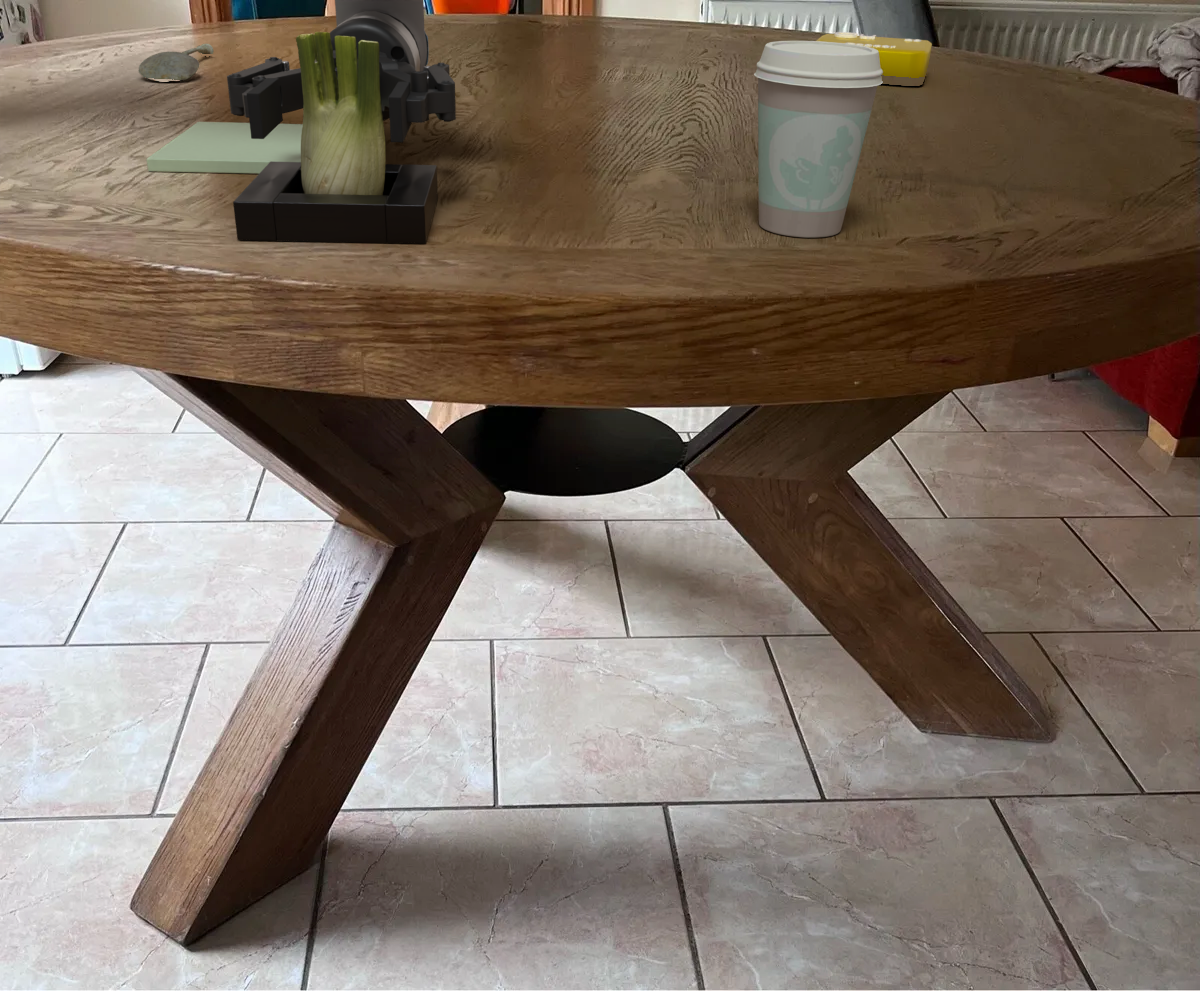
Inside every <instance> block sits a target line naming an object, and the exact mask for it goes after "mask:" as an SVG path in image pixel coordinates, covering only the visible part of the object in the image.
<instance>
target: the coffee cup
mask: <svg viewBox="0 0 1200 991" xmlns="http://www.w3.org/2000/svg"><path fill="white" fill-rule="evenodd" d="M882 74H883V71H882V69H881V68H880V60H879V51H878V50H876V49H874V48H870V47H866V46H860V45H854V44H846V43H835V42H822V41H816V40H778V41H771V42H768V43H766V44H764V48H763V51H762V53H761V57H760V59H759V60H758V61H757V63H756V70H755V72H754V74H753V75H754V77H755V78H757V148H758V150H757V155H758V156H757V159H758V160H757V164H758V166H757V168H758V170H757V172H758V174H757V175H758V177H757V178H758V225H759V227H761V228H762V229H763V230H765V231H767V232H769V233H772V234H775V235H780V236H785V237H793V238H802V239H803V238H805V239H806V238H807V239H818V238H826V237H828V238H829V237H832V236H835V235H837V234H839V233H841V231H842V228H843V223H844V219H845V217H846V216H845V215H846V212H847V207H848V204H849V202H850V201H849V200H850V196H851V193H852V188H853V185H854V181H855V177H856V173H857V169H858V164H859V161H860V157H861V154H862V153H861V152H862V149H863V145H864V141H865V137H866V133H867V129H868V125H869V121H870V117H871V114H872V110H873V105H874V101H875V98H876V92H877V89H878V86H882V85H881V84H882V83H883V81H882V76H881V75H882Z"/></svg>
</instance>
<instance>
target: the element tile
mask: <svg viewBox="0 0 1200 991" xmlns="http://www.w3.org/2000/svg"><path fill="white" fill-rule="evenodd" d="M815 41H822V42H835V43H846V44H854V45H860V46H866V47H870V48H874V49H876V50H878V51H879V60H880V68H881V69H882V71H883V74H882V75H884V76H896V77H909V78H910V77H911V78H919V77H925V75H926V72H927V68H928V69H929V66H930V59H931V53H932V48H933V43H932V42H931V41H929V40H927V39H918V38H917V39H916V38H915V39H913V38H902V37H901V38H899V37H882V36H877V34H873V35H865V34H864V33H861V34H858V33H857V32H849V31H836V32H834V33H827V34H826V33H825V34H823V35H821V36H820V37H818V38H817V39H816V40H815ZM928 65H929V66H928ZM927 73H928V72H927ZM926 76H927V75H926Z"/></svg>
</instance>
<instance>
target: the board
mask: <svg viewBox="0 0 1200 991" xmlns="http://www.w3.org/2000/svg"><path fill="white" fill-rule="evenodd" d="M302 127H303V123H280V124H279V125H278V126H277V127H275V128H274V129H273V130H272V131H271V132H270V133H269V134H268V135H267V136H266V137H265V138H264V139H251V131H250V122H229V121H228V122H226V121H225V122H223V121H196V122H195V123H194V124H193V125H191V126H190V127H189V128H187V129H186V130H184V131H183V132H182V133H180V134H179V135H178V136H176V137H175V138H173V139H172V140H171V141H169V142H167V144H165V145H163V146H162V147H160V148H159V149H158V150H157V151H155V152H154V153H152V154H151V155H150V156H148V157H147V158H146V159H145V160H146V168H147V171H148V172H158V173H159V172H160V173H199V174H200V173H203V174H205V173H206V174H207V173H208V174H209V173H210V174H213V173H214V174H248V175H249V174H251V175H252V174H253V175H259V173H260V172H261V171H262V170H263V169H264V168H265V167H266V166H267V165H268V164H269V163H270V162H301V134H302Z"/></svg>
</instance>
